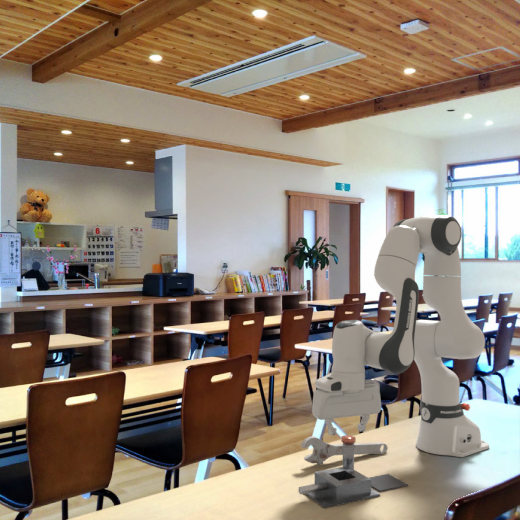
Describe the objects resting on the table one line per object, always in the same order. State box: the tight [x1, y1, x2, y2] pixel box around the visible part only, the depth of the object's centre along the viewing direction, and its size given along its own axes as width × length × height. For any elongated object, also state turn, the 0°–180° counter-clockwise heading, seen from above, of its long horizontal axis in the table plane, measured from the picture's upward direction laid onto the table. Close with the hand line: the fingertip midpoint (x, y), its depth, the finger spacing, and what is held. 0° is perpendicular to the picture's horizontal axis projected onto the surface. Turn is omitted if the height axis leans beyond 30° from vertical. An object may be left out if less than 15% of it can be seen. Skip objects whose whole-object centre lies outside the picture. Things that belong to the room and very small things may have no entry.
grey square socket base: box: [298, 466, 381, 509], centre depth 143 cm, size 19×12×4 cm, turn 116°
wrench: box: [300, 435, 389, 467], centre depth 167 cm, size 8×2×30 cm
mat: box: [368, 473, 409, 493], centre depth 150 cm, size 9×8×1 cm
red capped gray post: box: [340, 434, 357, 470], centre depth 156 cm, size 4×4×10 cm
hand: (347, 432), depth 155 cm, fingers open, 8 cm apart
